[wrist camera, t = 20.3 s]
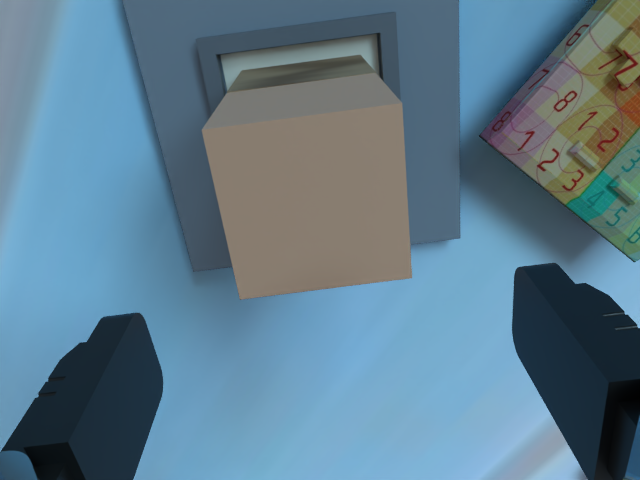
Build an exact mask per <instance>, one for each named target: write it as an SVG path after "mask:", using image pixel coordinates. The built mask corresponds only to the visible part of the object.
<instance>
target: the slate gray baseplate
mask: <svg viewBox="0 0 640 480" xmlns="http://www.w3.org/2000/svg"><path fill="white" fill-rule="evenodd" d="M122 1H123V5H124V8H125V12H126V16H127V20H128V24H129V27H130V31H131V35H132V39H133V43H134V47H135V50H136V54H137V58H138V62H139V66H140V69H141V73H142V77H143V81H144V85H145V88H146V92H147V96H148V100H149V104H150V108H151V111H152V115H153V119H154V123H155V127H156V130H157V134H158V138H159V142H160V146H161V150H162V153H163V157H164V161H165V165H166V169H167V172H168V176H169V180H170V184H171V188H172V192H173V195H174V199H175V203H176V207H177V211H178V214H179V218H180V222H181V226H182V230H183V234H184V237H185V241H186V245H187V249H188V253H189V256H190V260H191V264H192V268H193V272H194V271H202V270H210V269H218V268H226V267H233V266H232V262H231V258H230V253H229V249H228V244H227V240H226V235H225V231H224V227H223V222H222V218H221V213H220V209H219V205H218V200H217V196H216V191H215V187H214V182H213V178H212V174H211V169H210V165H209V160H208V156H207V152H206V147H205V143H204V138H203V134H202V129H203V127H204V126H205V124H206V123H207V121H208V120H209V118H210V117H211V115H212V114H213V112H214V111H215V109H216V108H217V107H218V105H219V104H220V102H221V101H222V99H223V98H224V96H225V95H226V93H227V91H228V90H229V88H230V87H231V85H232V84H233V82H234V81H235V79H236V78H237V76H238V75H239V74H240V72H241V71H242V70H248V69H255V68H263V67H270V66H278V65H285V64H293V63H300V62H308V61H315V60H323V59H330V58H338V57H346V56H353V55H361V56H362V57H363V58H364V59H365V60H366V62H367V63H368V64H369V65H370V66H371V67H372V68H373V69H374V71H375V72H376V74H377V75H378V76H379V77H380V78H381V79H382V80H383V82H384V83H385V84H386V85H387V86H388V87H389V88H390V90H391V91H392V92H393V93H394V94H395V95H396V96H397V98H398V99H399V100H400V101H401V102H402V108H403V126H404V144H405V162H406V180H407V198H408V216H409V234H410V244H418V243H427V242H435V241H443V240H451V239H459V238H460V103H459V0H122Z"/></svg>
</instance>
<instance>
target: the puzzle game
mask: <svg viewBox="0 0 640 480" xmlns="http://www.w3.org/2000/svg"><path fill="white" fill-rule="evenodd" d="M479 137H481V138H482V139H483V140H484V141H485V142H487V143H488V144H489V145H490V146H491V147H493V148H494V149H495V150H496V151H498V152H499V153H500V154H501V155H503V156H504V157H505V158H506V159H507V160H509V161H510V162H511V163H512V164H514V165H515V166H516V167H517V168H519V169H520V170H521V171H522V172H523V173H525V174H526V175H527V176H528V177H530V178H531V179H532V180H533V181H535V182H536V183H537V184H538V185H540V186H541V187H542V188H543V189H544V190H546V191H547V192H548V193H549V194H551V195H552V196H553V197H554V198H556V199H557V200H558V201H559V202H560V203H562V204H563V205H564V206H565V207H567V208H568V209H569V210H570V211H572V212H573V213H574V214H575V215H577V216H578V217H579V218H580V219H581V220H583V221H584V222H585V223H586V224H588V225H589V226H590V227H591V228H593V229H594V230H595V231H596V232H597V233H599V234H600V235H601V236H602V237H604V238H605V239H606V240H607V241H609V242H610V243H611V244H612V245H613V246H615V247H616V248H617V249H618V250H620V251H621V252H622V253H623V254H625V255H626V256H627V257H628V258H630V259H631V260H632V261H633V262H636V261H638V260H639V259H640V0H597V1H596V2H595V4H594V5H593V6H592V7H591V8H590V9H589V10H588V12H587V13H586V14H585V15H584V16H583V17H582V18H581V20H580V21H579V22H578V23H577V24H576V25H575V26H574V28H573V29H572V30H571V31H570V32H569V33H568V34H567V36H566V37H565V38H564V39H563V40H562V41H561V42H560V44H559V45H558V46H557V47H556V48H555V49H554V50H553V52H552V53H551V54H550V55H549V56H548V57H547V58H546V60H545V61H544V62H543V63H542V64H541V65H540V66H539V68H538V69H537V70H536V71H535V72H534V73H533V74H532V76H531V77H530V78H529V79H528V80H527V81H526V82H525V84H524V85H523V86H522V87H521V88H520V89H519V90H518V92H517V93H516V94H515V95H514V96H513V97H512V98H511V100H510V101H509V102H508V103H507V104H506V105H505V106H504V108H503V109H502V110H501V111H500V112H499V113H498V114H497V116H496V117H495V118H494V119H493V120H492V121H491V122H490V124H489V125H488V126H487V127H486V128H485V130H484V131H483V132H482V133H481V134H480V136H479Z"/></svg>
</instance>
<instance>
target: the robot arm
mask: <svg viewBox="0 0 640 480" xmlns="http://www.w3.org/2000/svg"><path fill="white" fill-rule="evenodd" d="M512 334H513V341H514V345H515V349H516V352H517V354H518V357H519V359H520V360H521V362H522V364H523V366H524V367H525V369H526V371H527V373H528V374H529V376H530V378H531V380H532V382H533V383H534V385H535V387H536V389H537V390H538V392H539V394H540V396H541V397H542V399H543V401H544V403H545V404H546V406H547V408H548V410H549V412H550V413H551V415H552V417H553V419H554V420H555V422H556V424H557V426H558V427H559V429H560V431H561V433H562V434H563V436H564V438H565V440H566V442H567V443H568V445H569V447H570V449H571V450H572V452H573V454H574V456H575V457H576V459H577V461H578V463H579V464H580V466H581V468H582V470H583V472H584V473H585V475H586V477H587V479H588V480H640V328H638V327H637V324H636V323H635V322H634V321H633V320H632V319H631V318H630V317H629V316H628V315H625V314H624V311H623V310H622V308H621V307H620V306H619V305H618V304H617V303H616V302H615V301H614V300H613V299H612V298H611V297H610V296H609V295H607V294H605V293H603V292H602V291H600V290H598V289H596V288H594V287H592V286H590V285H588V284H586V283H581V284H575V283H574V282H573V281H572V280H571V279H570V278H569V276H568V275H567V274H566V273H565V272H564V271H563V270H562V269H561V267H560V266H559V265H558V264H556V263H548V264H540V265H532V266H524V267H518V268H517V269H516V271H515V276H514V296H513V319H512ZM162 392H163V376H162V370H161V367H160V364H159V361H158V358H157V355H156V352H155V349H154V346H153V343H152V340H151V337H150V334H149V331H148V328H147V325H146V322H145V319H144V317H143V316H142V315H141V314H140V313H131V314H123V315H115V316H106V317H103V318H102V319H101V320H100V321H99V323H98V324H97V326H96V328H95V329H94V331H93V333H92V334H91V336H90V338H89V339H88V341H87V342H83V343H79V344H78V345H77V346H76V347H75V348H73V349H72V350H71V351H70V352H69V353H68V354H66V355H65V356H64V357H63V358H62V359H61V360H60V361H59V362H58V364H57V365H56V367H55V369H54V370H53V372H52V373H51V375H50V376H49V378H48V382H45V384H44V386H43V387H42V389H41V390H40V392H39V393H38V395H39V396H38V397H37V398H35V399H34V401H33V403H32V404H31V406H30V407H29V409H28V410H27V412H26V413H25V415H24V416H23V418H22V420H21V421H20V423H19V424H18V426H17V427H16V429H15V430H14V432H13V433H12V435H11V437H10V438H9V440H8V441H7V443H6V444H5V446H4V447H3V449H2V450H1V452H0V480H133V479H134V476H135V473H136V470H137V467H138V464H139V461H140V458H141V455H142V452H143V450H144V447H145V444H146V441H147V438H148V435H149V432H150V429H151V426H152V423H153V421H154V418H155V415H156V412H157V409H158V406H159V403H160V400H161V397H162Z"/></svg>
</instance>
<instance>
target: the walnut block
mask: <svg viewBox="0 0 640 480" xmlns="http://www.w3.org/2000/svg"><path fill="white" fill-rule="evenodd" d="M371 73H376V72H375V71H374V69H373V68H372V67H371V66H370V65H369V64H368V63H367V62H366V60H365V59H364V58H363V57H362V56H361V55H353V56H346V57H338V58H330V59H323V60H315V61H308V62H300V63H293V64H285V65H278V66H270V67H263V68H255V69H248V70H242V71H241V72H240V74H239V75H238V76H237V78H236V79H235V81H234V82H233V84H232V85H231V87H230V88H229V90H228V91H227V93H230V92H237V91H245V90H252V89H259V88H267V87H274V86H282V85H289V84H296V83H304V82H311V81H319V80H326V79H334V78H341V77H348V76H356V75H363V74H371Z"/></svg>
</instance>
